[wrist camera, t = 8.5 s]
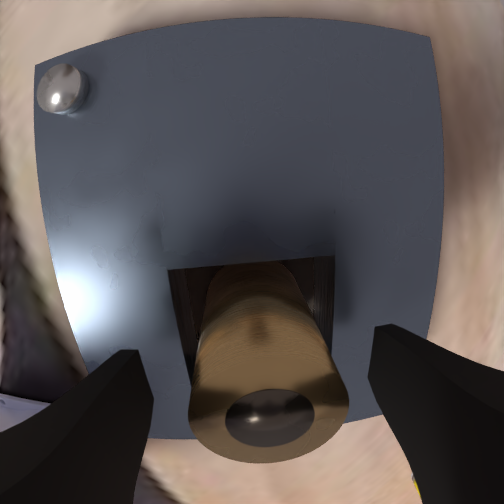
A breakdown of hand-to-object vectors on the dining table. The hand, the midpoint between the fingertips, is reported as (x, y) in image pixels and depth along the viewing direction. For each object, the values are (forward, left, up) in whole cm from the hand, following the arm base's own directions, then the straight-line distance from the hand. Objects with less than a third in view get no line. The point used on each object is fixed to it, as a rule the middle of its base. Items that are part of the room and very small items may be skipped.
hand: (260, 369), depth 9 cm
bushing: (0, 0, -5) cm, 5 cm away
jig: (0, +3, -5) cm, 5 cm away
